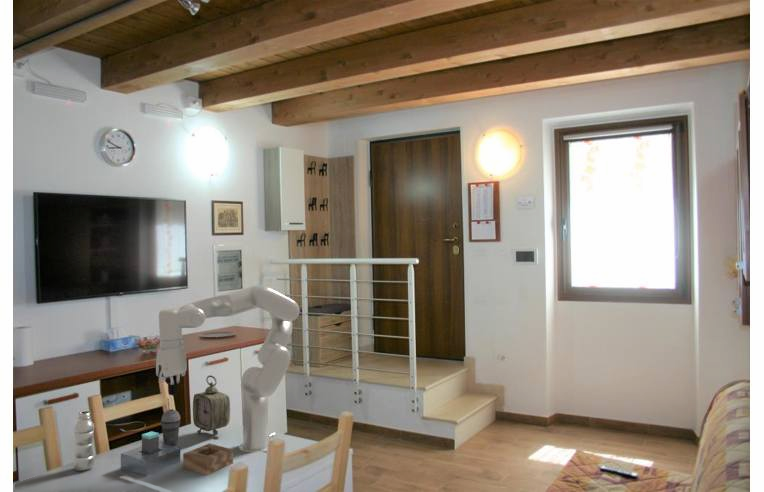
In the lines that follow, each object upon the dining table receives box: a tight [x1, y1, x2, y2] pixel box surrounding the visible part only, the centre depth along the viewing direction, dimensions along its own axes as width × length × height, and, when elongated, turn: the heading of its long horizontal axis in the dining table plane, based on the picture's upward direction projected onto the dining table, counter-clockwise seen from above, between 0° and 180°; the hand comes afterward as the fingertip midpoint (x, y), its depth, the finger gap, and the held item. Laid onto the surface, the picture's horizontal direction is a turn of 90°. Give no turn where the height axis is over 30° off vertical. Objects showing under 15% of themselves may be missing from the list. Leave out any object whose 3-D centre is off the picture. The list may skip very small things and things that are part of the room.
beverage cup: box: [160, 397, 182, 448], centre depth 217 cm, size 7×7×20 cm
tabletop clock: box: [192, 374, 231, 441], centre depth 234 cm, size 14×9×25 cm, turn 50°
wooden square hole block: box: [182, 443, 234, 476], centre depth 200 cm, size 12×12×6 cm
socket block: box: [120, 442, 181, 477], centre depth 200 cm, size 14×14×6 cm
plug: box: [141, 430, 160, 455], centre depth 200 cm, size 4×4×11 cm
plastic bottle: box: [73, 411, 95, 472], centre depth 198 cm, size 6×7×20 cm
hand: (173, 394), depth 201 cm, fingers closed
